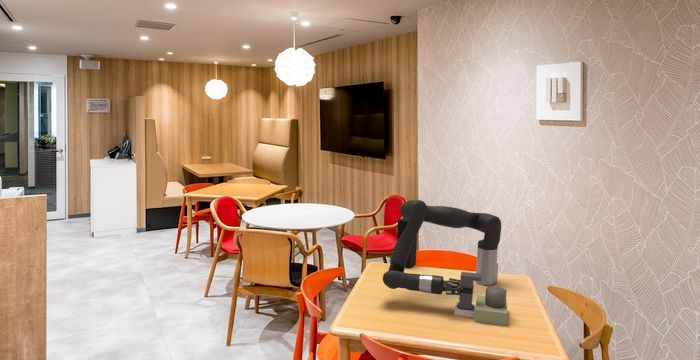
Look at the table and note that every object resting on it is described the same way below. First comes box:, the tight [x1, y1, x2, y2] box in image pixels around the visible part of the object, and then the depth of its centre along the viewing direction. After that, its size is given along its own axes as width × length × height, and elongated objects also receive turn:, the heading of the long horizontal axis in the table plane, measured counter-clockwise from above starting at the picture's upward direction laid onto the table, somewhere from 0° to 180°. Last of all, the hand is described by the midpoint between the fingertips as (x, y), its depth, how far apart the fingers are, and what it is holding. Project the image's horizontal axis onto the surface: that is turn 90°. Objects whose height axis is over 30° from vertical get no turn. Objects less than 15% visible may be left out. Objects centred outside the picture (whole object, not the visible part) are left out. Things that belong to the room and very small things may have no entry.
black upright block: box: [396, 217, 418, 269], centre depth 268 cm, size 8×8×28 cm
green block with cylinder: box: [453, 286, 508, 326], centre depth 207 cm, size 20×16×11 cm
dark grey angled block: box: [458, 271, 482, 311], centre depth 208 cm, size 8×5×15 cm, turn 74°
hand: (473, 289), depth 207 cm, fingers closed on dark grey angled block, 5 cm apart
